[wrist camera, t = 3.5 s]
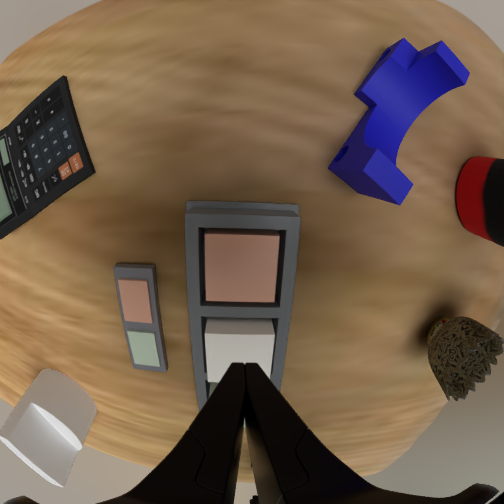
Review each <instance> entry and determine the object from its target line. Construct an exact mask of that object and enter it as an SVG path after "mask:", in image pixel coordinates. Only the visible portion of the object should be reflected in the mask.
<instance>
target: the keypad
mask: <svg viewBox="0 0 504 504" xmlns="http://www.w3.org/2000/svg"><path fill="white" fill-rule="evenodd" d="M300 222H301V217H300V216H299V205H298V204H289V203H269V202H243V201H191V200H187V201H186V213H185V250H186V276H187V294H188V310H189V323H190V335H191V346H192V356H193V366H194V375H195V383H196V391H197V399H198V406H199V412H200V410H201V409H202V407H203V406H204V404H205V403H206V401H207V400H208V398H209V393H210V383H211V382H208V376H207V362H206V347H205V329H206V324H207V318H208V317H233V318H271V319H272V324H273V328H274V333H275V337H274V347H273V356H272V365H271V373H270V380H271V381H272V383H273V384H274V385H275V387H276V388H277V389H278V390H279V392H280V387H281V381H282V375H283V368H284V361H285V354H286V347H287V340H288V333H289V325H290V318H291V310H292V301H293V293H294V284H295V275H296V265H297V255H298V245H299V234H300ZM208 228H245V229H275V230H276V231H277V233H278V234H279V250H278V263H277V276H276V288H275V300H274V302H230V301H206V279H205V233H206V231H207V229H208Z"/></svg>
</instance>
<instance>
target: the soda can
mask: <svg viewBox="0 0 504 504" xmlns="http://www.w3.org/2000/svg"><path fill="white" fill-rule="evenodd" d="M456 201H457V208H458V213H459V216H460V218H461V221H462V223H463V225H464V227H465V228H466V229H467V230H468V231H469V232H471V233H473V234H476V235H478V236H480V237H483V238H485V239H487V240H490V241H492V242H494V243H496V244H499V245H501V246H503V247H504V159H498V158H489V157H473V158H472V159H470V160H469V161H468V162H467V163H466V164H465V166H464V168H463V169H462V171H461V174H460V176H459V179H458V184H457V191H456Z"/></svg>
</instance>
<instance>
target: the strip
mask: <svg viewBox="0 0 504 504" xmlns="http://www.w3.org/2000/svg"><path fill="white" fill-rule="evenodd" d="M114 275H115V282H116V288H117V294H118V300H119V306H120V311H121V316H122V321H123V326H124V331H125V335H126V339H127V344H128V348H129V352H130V356H131V360H132V364H133V367H134V368H135V369H142V370H150V371H159V372H167V369H168V363H167V357H166V351H165V345H164V338H163V332H162V325H161V317H160V309H159V301H158V291H157V281H156V270H155V265H145V264H122V263H117V264H116V265H115V266H114Z"/></svg>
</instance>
